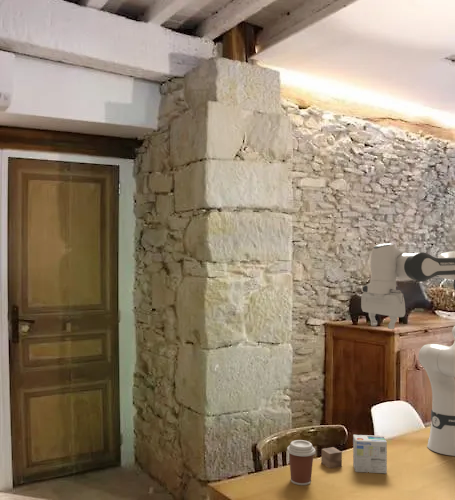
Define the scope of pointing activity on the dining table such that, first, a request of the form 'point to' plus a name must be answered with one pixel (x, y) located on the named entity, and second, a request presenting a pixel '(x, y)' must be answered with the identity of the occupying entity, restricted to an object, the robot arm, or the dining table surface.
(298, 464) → the coffee cup
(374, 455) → the light bulb box
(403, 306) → the robot arm
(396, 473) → the dining table surface
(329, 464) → the walnut cube
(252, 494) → the dining table surface
